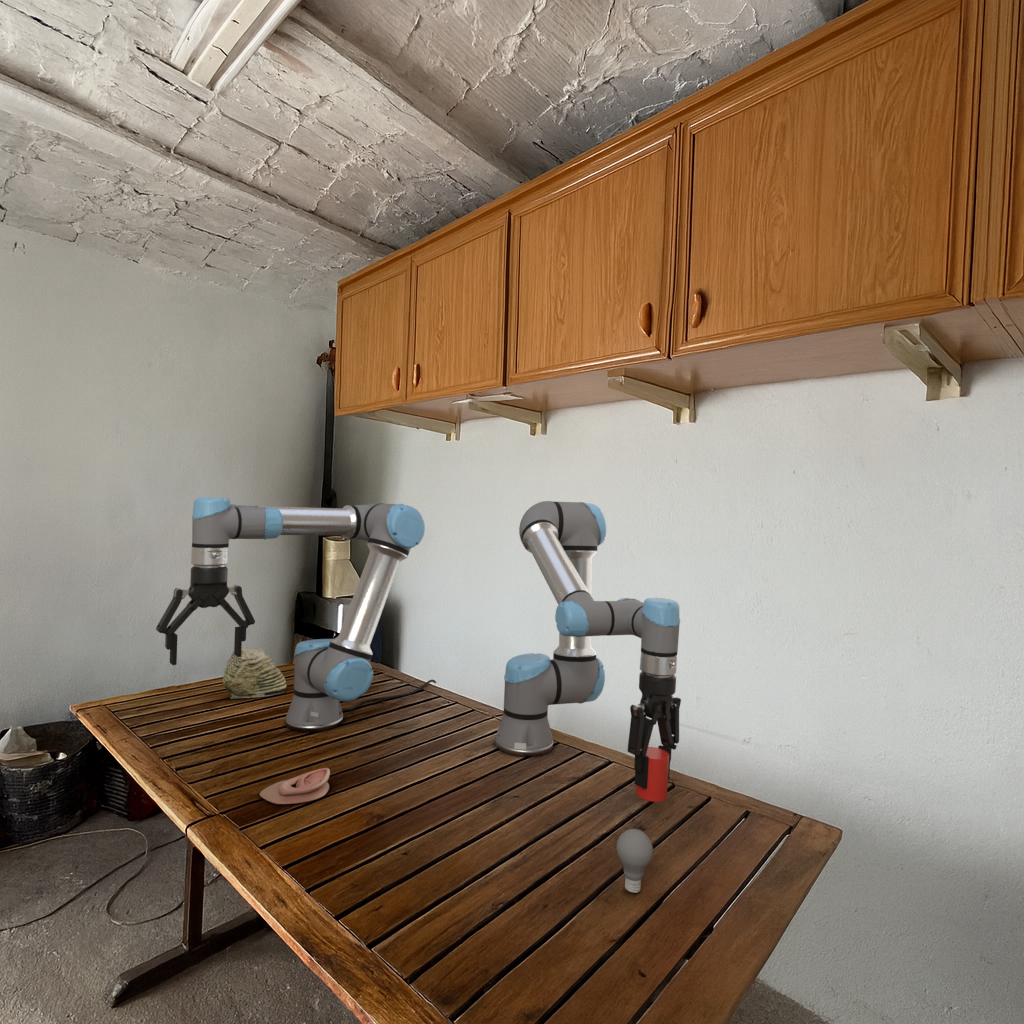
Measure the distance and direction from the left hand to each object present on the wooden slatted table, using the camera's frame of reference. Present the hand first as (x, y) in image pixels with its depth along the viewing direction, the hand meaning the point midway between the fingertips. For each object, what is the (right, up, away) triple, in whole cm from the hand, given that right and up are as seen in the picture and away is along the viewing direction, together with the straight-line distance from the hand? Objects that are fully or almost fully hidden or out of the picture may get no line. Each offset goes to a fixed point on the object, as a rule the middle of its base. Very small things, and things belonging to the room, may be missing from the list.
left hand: (206, 659), depth 143 cm
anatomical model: (+23, -27, -8) cm, 36 cm away
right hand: (+98, -23, -10) cm, 102 cm away
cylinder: (+98, -26, -10) cm, 102 cm away
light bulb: (+89, -30, -37) cm, 101 cm away
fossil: (-12, -24, +55) cm, 61 cm away
